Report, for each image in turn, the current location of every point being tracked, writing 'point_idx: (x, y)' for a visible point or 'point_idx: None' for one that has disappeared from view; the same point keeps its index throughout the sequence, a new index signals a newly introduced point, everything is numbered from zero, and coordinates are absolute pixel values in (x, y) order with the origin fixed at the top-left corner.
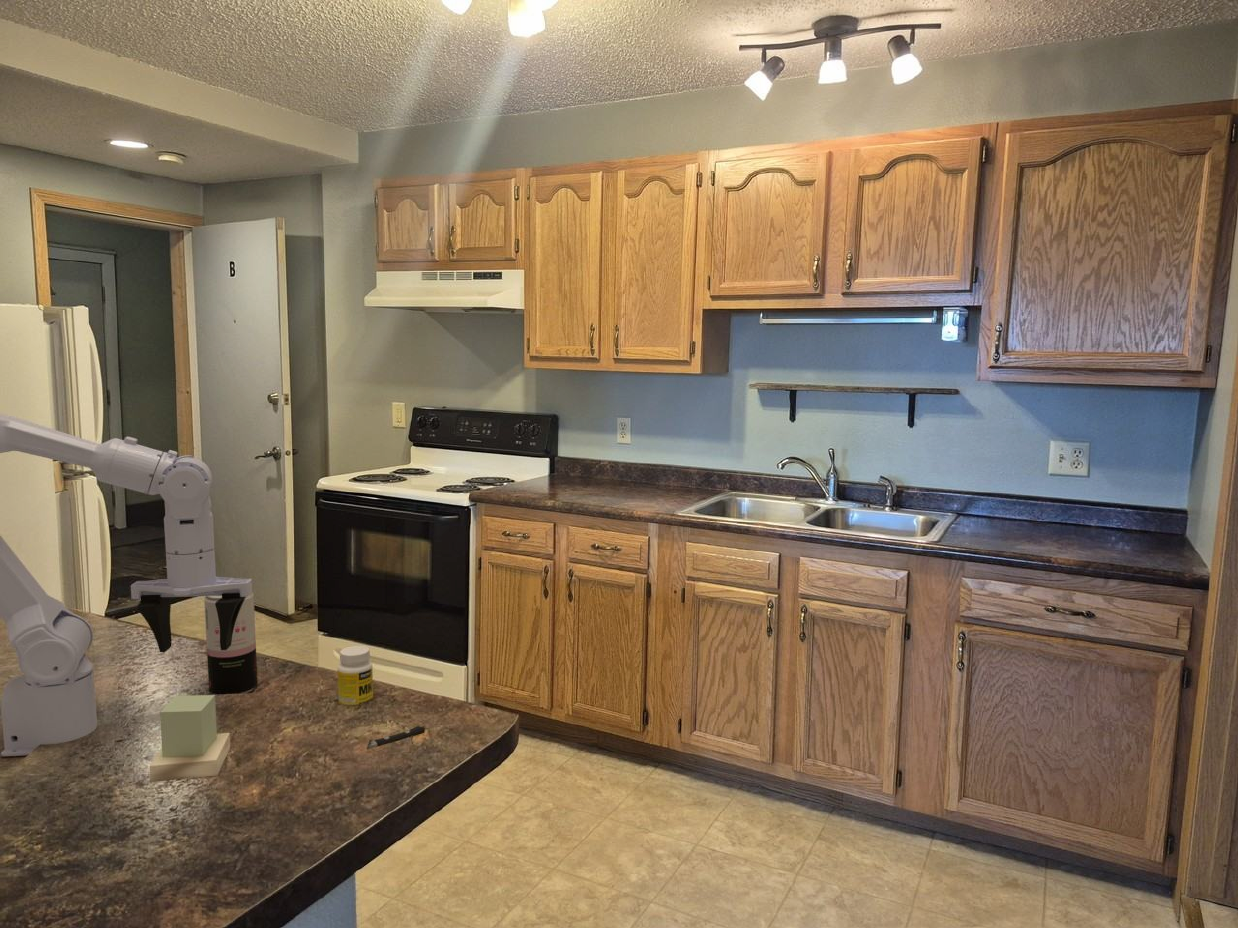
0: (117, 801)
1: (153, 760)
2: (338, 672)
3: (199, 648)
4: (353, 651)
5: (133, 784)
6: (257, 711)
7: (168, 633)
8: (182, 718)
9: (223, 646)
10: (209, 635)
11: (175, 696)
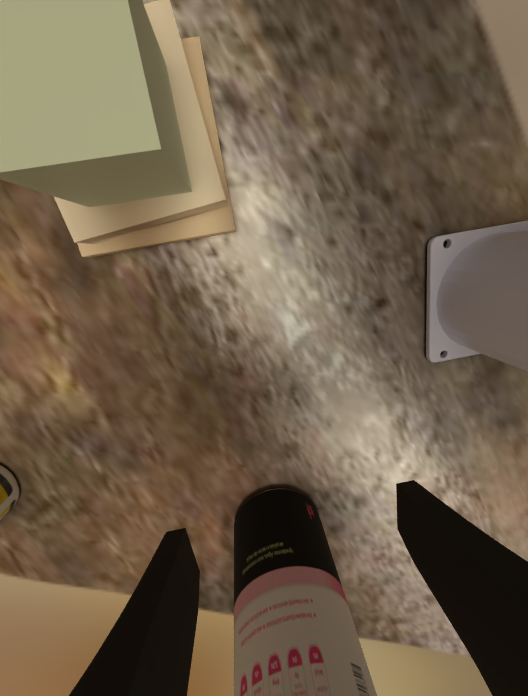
0: (238, 3)
1: (180, 42)
2: None
3: (411, 631)
4: None
5: (249, 99)
6: (178, 444)
7: (436, 579)
8: None
9: (167, 542)
10: (339, 636)
11: (160, 144)
